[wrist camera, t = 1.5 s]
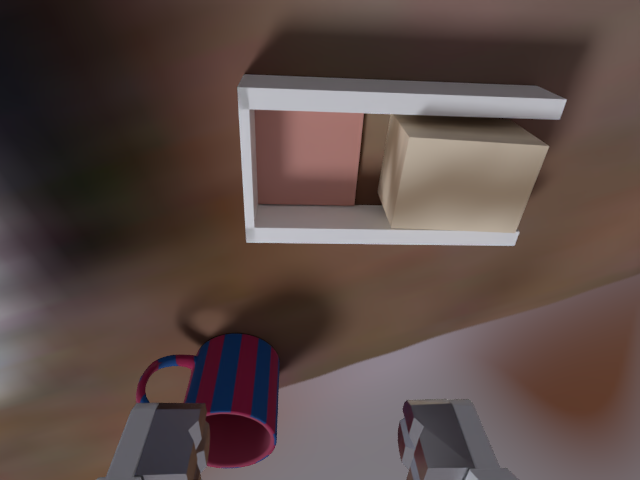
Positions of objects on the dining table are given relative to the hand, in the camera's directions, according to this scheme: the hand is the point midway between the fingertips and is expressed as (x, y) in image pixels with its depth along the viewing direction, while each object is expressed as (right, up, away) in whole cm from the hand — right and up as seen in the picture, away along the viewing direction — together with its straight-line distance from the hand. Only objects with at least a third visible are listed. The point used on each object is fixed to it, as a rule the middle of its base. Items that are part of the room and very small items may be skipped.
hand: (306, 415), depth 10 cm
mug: (-8, -5, +23) cm, 25 cm away
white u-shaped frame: (+4, +9, +15) cm, 18 cm away
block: (+8, +9, +15) cm, 19 cm away
